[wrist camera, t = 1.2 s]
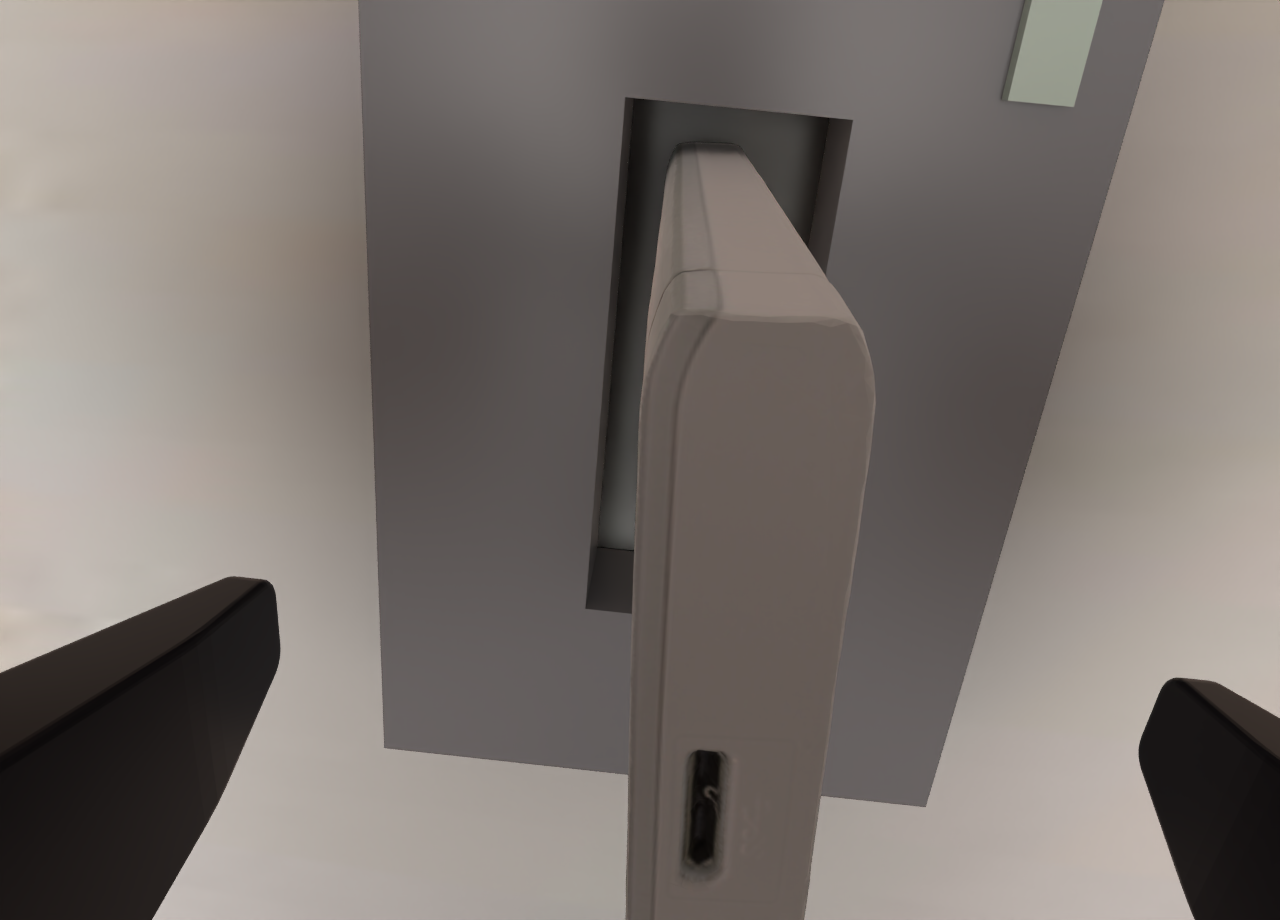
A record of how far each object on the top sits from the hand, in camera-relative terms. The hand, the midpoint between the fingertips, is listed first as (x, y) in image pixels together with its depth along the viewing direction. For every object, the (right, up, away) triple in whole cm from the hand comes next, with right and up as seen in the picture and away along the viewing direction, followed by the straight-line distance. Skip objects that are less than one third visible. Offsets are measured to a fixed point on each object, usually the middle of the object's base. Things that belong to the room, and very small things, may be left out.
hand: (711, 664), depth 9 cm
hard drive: (0, +4, +9) cm, 10 cm away
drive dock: (0, +4, +9) cm, 10 cm away
